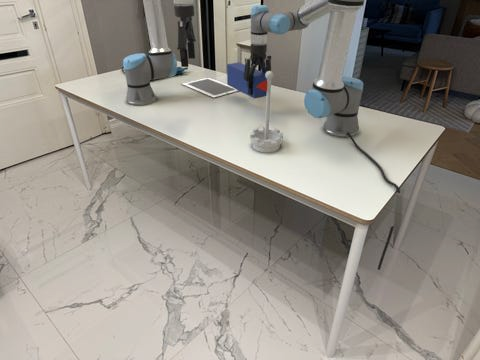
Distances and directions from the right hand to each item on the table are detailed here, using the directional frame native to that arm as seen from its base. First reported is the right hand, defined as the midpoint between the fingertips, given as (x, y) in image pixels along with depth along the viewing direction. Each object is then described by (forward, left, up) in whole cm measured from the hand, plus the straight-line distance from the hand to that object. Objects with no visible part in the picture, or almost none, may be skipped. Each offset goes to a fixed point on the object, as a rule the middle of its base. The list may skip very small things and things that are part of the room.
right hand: (257, 92), depth 166 cm
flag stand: (-37, +15, -9) cm, 41 cm away
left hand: (-4, +35, +19) cm, 40 cm away
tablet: (+43, +8, -9) cm, 45 cm away
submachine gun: (+83, +28, -9) cm, 88 cm away
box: (+9, +1, -1) cm, 10 cm away
